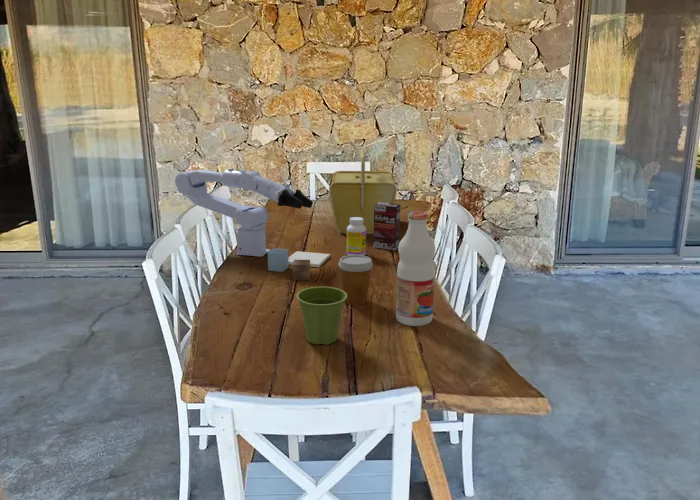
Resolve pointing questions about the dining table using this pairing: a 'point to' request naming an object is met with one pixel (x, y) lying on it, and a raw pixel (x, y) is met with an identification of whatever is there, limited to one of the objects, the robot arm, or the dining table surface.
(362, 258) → the disposable coffee cup
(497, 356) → the dining table surface
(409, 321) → the fruit juice
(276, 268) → the blue block
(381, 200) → the picnic basket
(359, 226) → the supplement bottle
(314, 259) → the plate
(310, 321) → the plant pot
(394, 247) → the supplement box
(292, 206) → the robot arm
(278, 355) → the dining table surface
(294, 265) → the walnut block
